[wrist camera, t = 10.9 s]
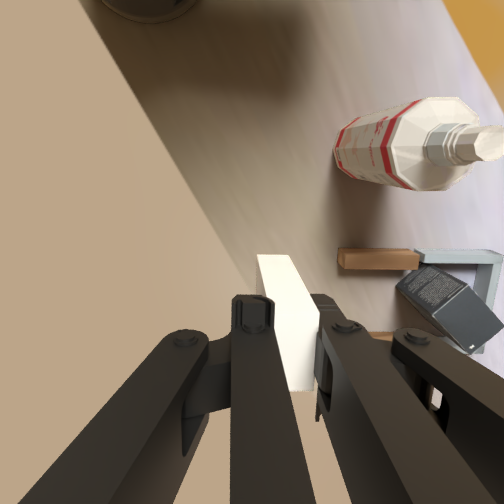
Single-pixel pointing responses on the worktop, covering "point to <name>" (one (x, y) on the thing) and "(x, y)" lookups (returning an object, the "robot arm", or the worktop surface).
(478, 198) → the worktop surface
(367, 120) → the white bottle
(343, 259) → the brown bar
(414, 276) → the box
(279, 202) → the worktop surface
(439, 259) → the bay
